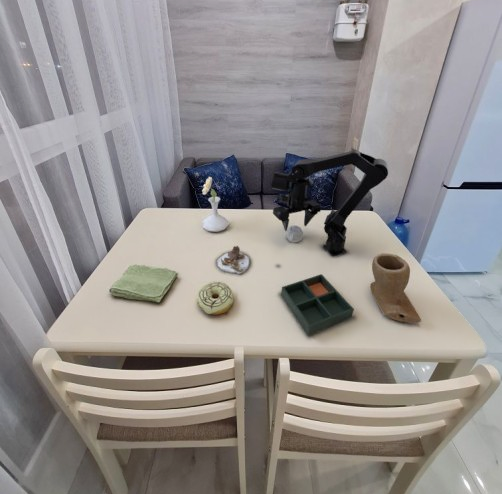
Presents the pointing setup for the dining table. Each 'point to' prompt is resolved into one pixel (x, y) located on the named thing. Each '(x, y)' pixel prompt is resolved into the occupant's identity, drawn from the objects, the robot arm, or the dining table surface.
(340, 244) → the robot arm
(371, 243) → the dining table surface
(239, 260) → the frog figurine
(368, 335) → the dining table surface
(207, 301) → the decorated donut
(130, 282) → the washcloth
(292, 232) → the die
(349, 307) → the grid
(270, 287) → the dining table surface
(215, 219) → the flower in vase
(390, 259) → the clay platform pipe
